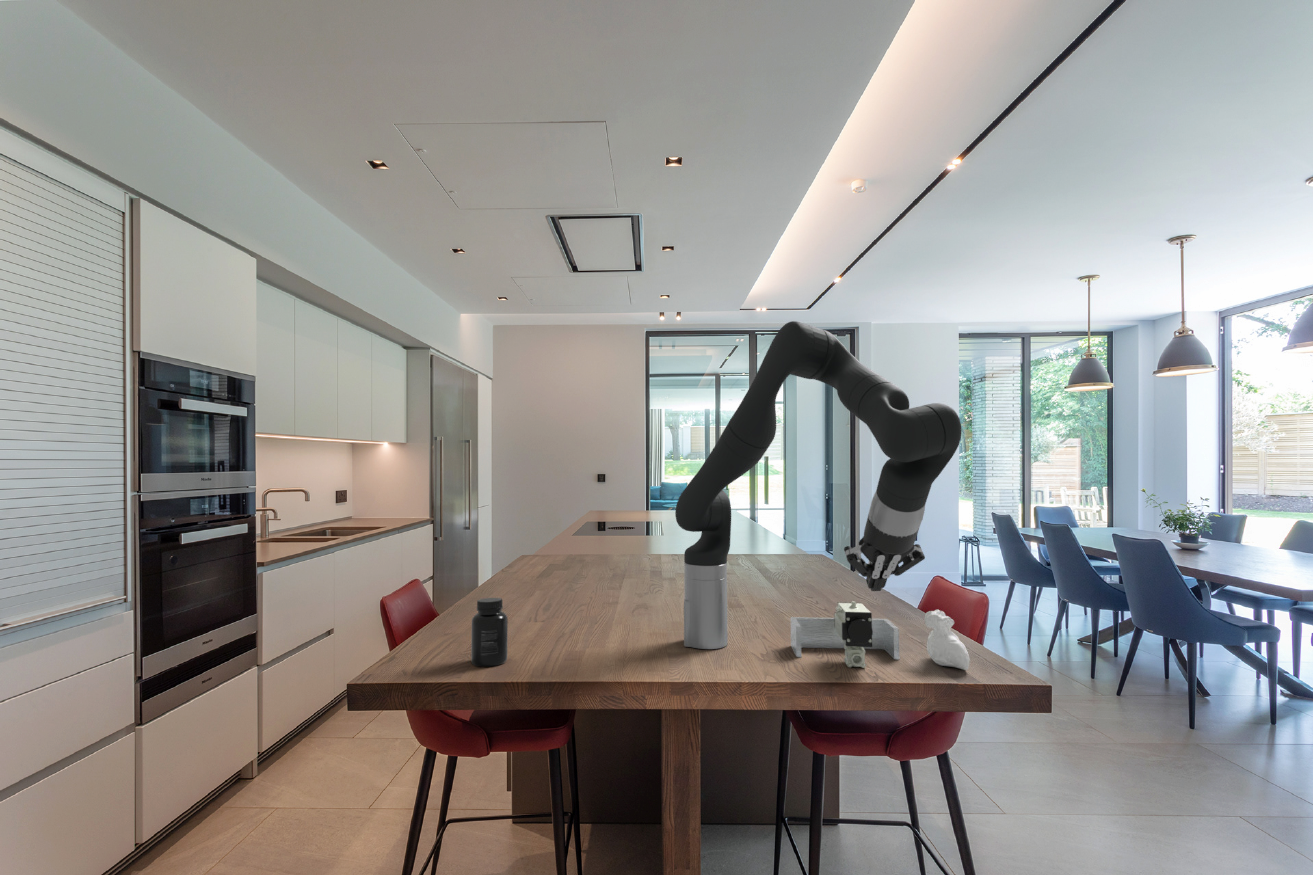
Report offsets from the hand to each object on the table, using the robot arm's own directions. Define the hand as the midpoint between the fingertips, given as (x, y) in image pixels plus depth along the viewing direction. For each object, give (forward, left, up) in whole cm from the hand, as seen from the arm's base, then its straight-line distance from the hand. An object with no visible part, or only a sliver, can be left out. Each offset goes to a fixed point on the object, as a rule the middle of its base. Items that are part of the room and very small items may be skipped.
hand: (874, 586), depth 104 cm
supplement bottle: (-71, +9, -17) cm, 74 cm away
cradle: (-1, +21, -17) cm, 28 cm away
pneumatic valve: (-1, +13, -17) cm, 22 cm away
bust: (+17, +15, -17) cm, 29 cm away
